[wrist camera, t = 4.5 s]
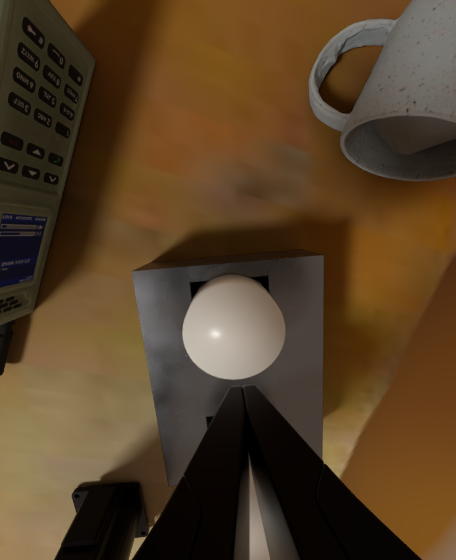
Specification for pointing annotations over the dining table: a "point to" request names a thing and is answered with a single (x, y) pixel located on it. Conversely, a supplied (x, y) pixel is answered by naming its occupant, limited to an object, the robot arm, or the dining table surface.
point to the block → (399, 94)
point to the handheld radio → (34, 143)
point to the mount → (211, 390)
